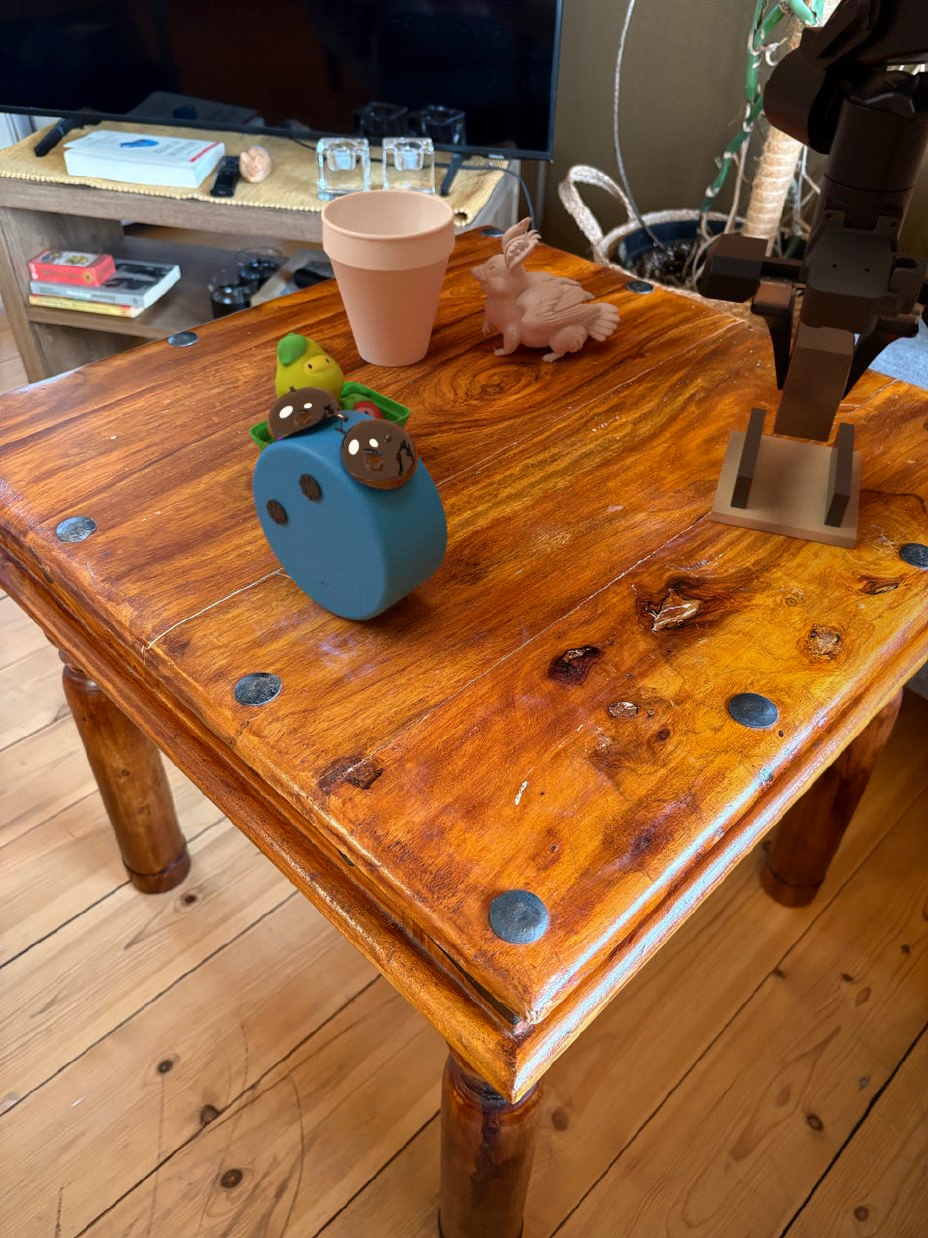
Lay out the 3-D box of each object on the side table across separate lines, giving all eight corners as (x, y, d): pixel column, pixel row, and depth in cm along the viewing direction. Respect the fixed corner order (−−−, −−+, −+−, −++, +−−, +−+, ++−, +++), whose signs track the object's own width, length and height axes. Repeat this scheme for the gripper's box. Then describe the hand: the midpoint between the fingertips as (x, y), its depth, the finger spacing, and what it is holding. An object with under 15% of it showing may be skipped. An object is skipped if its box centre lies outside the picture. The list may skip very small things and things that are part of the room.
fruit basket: (313, 521, 77) (299, 391, 70) (242, 477, 82) (222, 350, 74) (416, 464, 84) (414, 339, 76) (345, 426, 88) (336, 304, 81)
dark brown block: (833, 399, 78) (858, 315, 74) (829, 443, 73) (856, 356, 69) (779, 390, 79) (801, 306, 75) (772, 433, 74) (794, 346, 70)
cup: (306, 360, 97) (292, 218, 88) (375, 313, 105) (369, 179, 96) (412, 392, 93) (409, 246, 84) (476, 341, 101) (479, 203, 92)
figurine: (463, 333, 102) (466, 208, 94) (604, 324, 104) (618, 201, 96) (477, 370, 96) (481, 240, 88) (626, 360, 98) (643, 232, 90)
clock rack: (858, 462, 85) (871, 421, 82) (853, 549, 76) (868, 506, 73) (729, 439, 88) (738, 398, 85) (709, 520, 78) (718, 478, 76)
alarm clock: (450, 612, 70) (452, 424, 60) (389, 657, 66) (380, 466, 56) (322, 537, 76) (304, 356, 66) (260, 575, 72) (231, 390, 62)
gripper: (709, 199, 61) (669, 422, 71) (1036, 240, 57) (944, 470, 67) (730, 147, 69) (692, 355, 79) (1019, 179, 65) (938, 394, 75)
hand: (810, 392), depth 75 cm, fingers closed on dark brown block, 4 cm apart
